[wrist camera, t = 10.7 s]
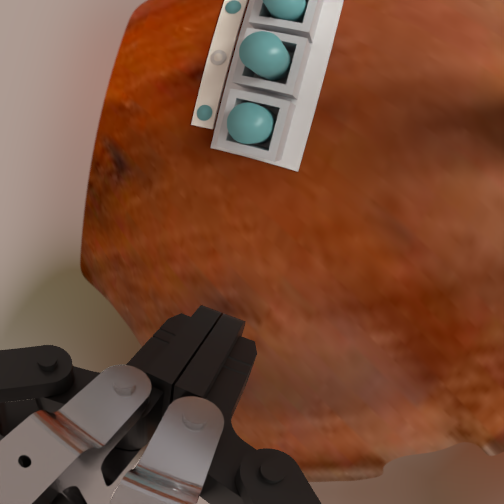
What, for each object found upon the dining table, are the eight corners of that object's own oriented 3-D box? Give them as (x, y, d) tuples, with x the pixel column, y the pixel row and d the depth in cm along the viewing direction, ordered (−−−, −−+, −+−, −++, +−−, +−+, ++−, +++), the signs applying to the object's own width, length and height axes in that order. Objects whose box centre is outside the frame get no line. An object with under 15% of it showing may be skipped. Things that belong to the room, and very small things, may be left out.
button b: (296, 50, 32) (288, 35, 27) (286, 84, 34) (277, 74, 28) (258, 43, 33) (245, 28, 27) (249, 76, 35) (234, 66, 29)
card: (248, -3, 33) (247, -5, 33) (213, 129, 41) (211, 129, 40) (227, -5, 34) (225, -6, 33) (192, 124, 41) (190, 124, 41)
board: (344, -2, 30) (343, -18, 26) (298, 171, 40) (292, 175, 36) (256, -17, 32) (246, -32, 28) (211, 147, 42) (196, 149, 37)
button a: (312, 2, 31) (307, -18, 25) (304, 31, 32) (298, 14, 27) (277, -4, 31) (266, -24, 26) (268, 24, 33) (257, 8, 28)
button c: (282, 112, 37) (272, 107, 31) (273, 147, 39) (262, 148, 33) (247, 104, 38) (232, 98, 32) (238, 138, 39) (222, 138, 34)
